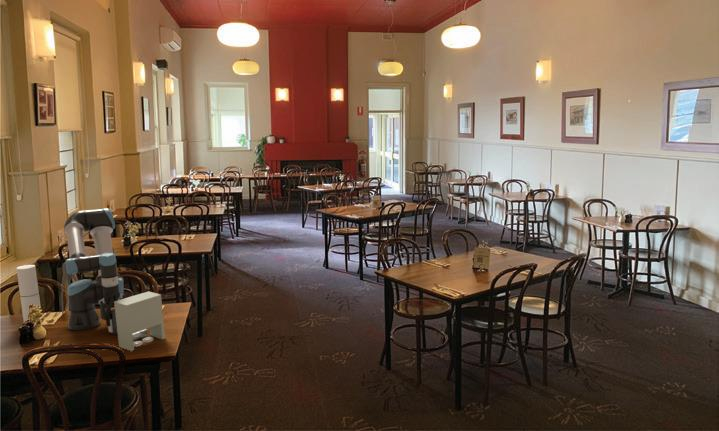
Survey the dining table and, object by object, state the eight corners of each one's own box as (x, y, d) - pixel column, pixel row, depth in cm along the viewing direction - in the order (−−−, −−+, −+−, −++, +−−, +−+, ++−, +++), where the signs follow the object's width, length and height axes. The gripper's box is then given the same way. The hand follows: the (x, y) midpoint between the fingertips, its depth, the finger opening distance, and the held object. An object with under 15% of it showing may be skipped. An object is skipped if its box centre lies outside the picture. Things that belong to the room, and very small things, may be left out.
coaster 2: (140, 341, 278) (140, 339, 278) (149, 338, 282) (149, 336, 282) (146, 344, 275) (146, 341, 275) (155, 340, 279) (155, 338, 279)
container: (21, 321, 310) (14, 267, 305) (39, 317, 316) (32, 263, 311) (26, 325, 304) (19, 270, 299) (44, 321, 310) (37, 266, 305)
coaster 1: (129, 345, 274) (128, 343, 273) (138, 342, 277) (138, 340, 277) (134, 348, 271) (134, 345, 270) (144, 344, 274) (144, 342, 274)
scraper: (100, 335, 286) (98, 314, 284) (124, 327, 296) (122, 306, 294) (123, 344, 274) (120, 321, 272) (147, 335, 284) (145, 313, 282)
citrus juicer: (71, 319, 312) (65, 264, 306) (55, 318, 313) (48, 264, 308) (85, 312, 323) (79, 259, 317) (69, 311, 324) (62, 259, 319)
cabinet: (119, 346, 272) (114, 301, 268) (152, 334, 286) (148, 291, 282) (131, 351, 266) (126, 305, 262) (165, 338, 280) (160, 294, 277)
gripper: (97, 290, 276) (103, 337, 280) (130, 281, 290) (135, 326, 294) (89, 288, 281) (94, 334, 285) (122, 279, 294) (126, 323, 298)
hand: (115, 330), depth 289 cm, fingers closed on scraper, 4 cm apart
